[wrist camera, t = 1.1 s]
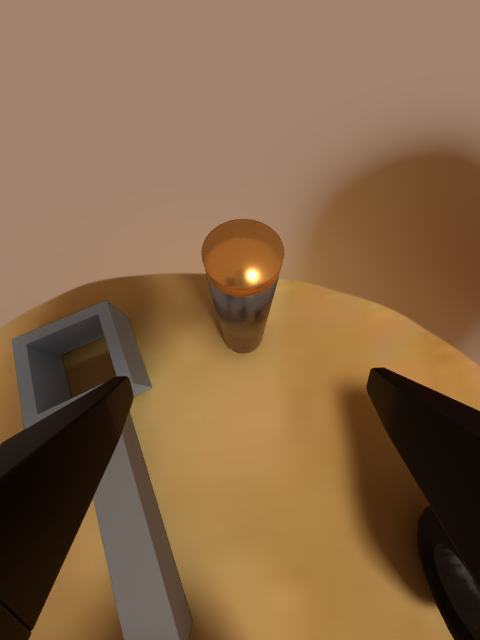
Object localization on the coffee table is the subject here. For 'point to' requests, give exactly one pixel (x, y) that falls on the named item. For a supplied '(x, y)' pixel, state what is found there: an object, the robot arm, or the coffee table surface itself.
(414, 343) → the coffee table surface
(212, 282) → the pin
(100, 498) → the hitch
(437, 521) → the controller
